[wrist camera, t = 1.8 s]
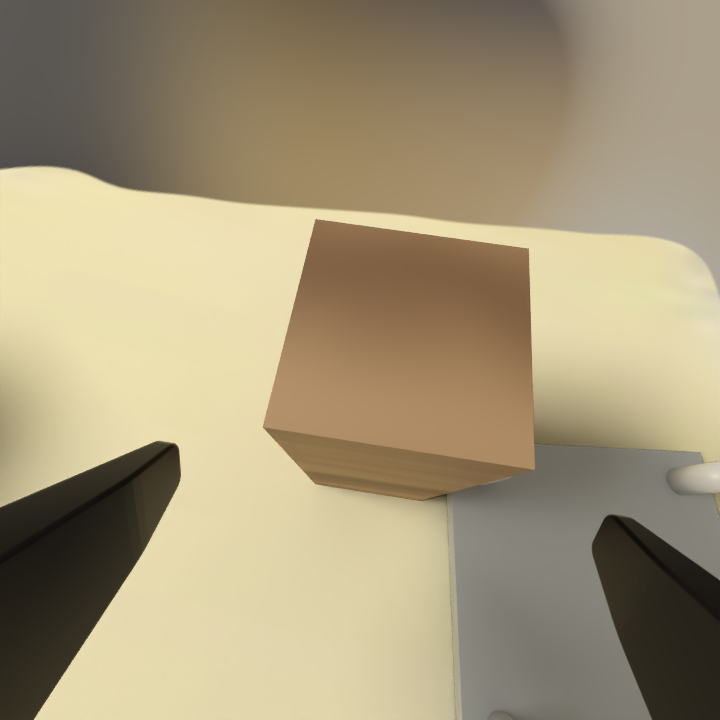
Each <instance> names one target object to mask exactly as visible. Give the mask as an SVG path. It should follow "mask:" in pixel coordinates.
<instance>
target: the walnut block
mask: <svg viewBox="0 0 720 720" xmlns="http://www.w3.org/2000/svg"><path fill="white" fill-rule="evenodd" d="M263 428H264V429H265V430H266V431H267V432H268V433H269V434H270V435H271V436H272V438H273V439H274V440H275V441H276V442H277V443H278V444H279V445H280V446H281V447H282V448H283V449H284V451H285V452H286V453H287V454H288V455H289V456H290V457H291V458H292V459H293V460H294V461H295V462H296V464H297V465H298V466H299V467H300V468H301V469H302V470H303V471H304V472H305V473H306V474H307V475H308V477H309V478H310V479H311V480H312V481H313V482H314V483H315V484H319V485H325V486H332V487H338V488H344V489H350V490H356V491H362V492H369V493H375V494H381V495H387V496H393V497H400V498H406V499H412V500H418V501H421V500H425V499H428V498H432V497H436V496H440V495H443V494H447V493H451V492H454V491H458V490H462V489H466V488H469V487H473V486H477V485H481V484H484V483H488V482H492V481H495V480H499V479H503V478H507V477H510V476H514V475H518V474H522V473H525V472H529V471H533V470H535V455H534V419H533V383H532V348H531V312H530V276H529V249H527V248H520V247H512V246H505V245H498V244H491V243H483V242H476V241H469V240H462V239H455V238H447V237H440V236H433V235H426V234H418V233H411V232H404V231H397V230H390V229H382V228H375V227H368V226H361V225H353V224H346V223H339V222H332V221H325V220H317V219H316V220H315V224H314V228H313V232H312V236H311V239H310V243H309V247H308V251H307V255H306V259H305V263H304V267H303V271H302V275H301V279H300V283H299V287H298V291H297V295H296V299H295V302H294V306H293V310H292V314H291V318H290V322H289V326H288V330H287V334H286V338H285V342H284V346H283V350H282V354H281V358H280V362H279V365H278V369H277V373H276V377H275V381H274V385H273V389H272V393H271V397H270V401H269V405H268V409H267V413H266V417H265V421H264V424H263Z"/></svg>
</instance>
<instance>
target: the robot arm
mask: <svg viewBox="0 0 720 720" xmlns="http://www.w3.org/2000/svg"><path fill="white" fill-rule="evenodd" d="M180 478H181V469H180V456H179V448H178V446H177V445H176V444H175V443H170V442H163V441H156V442H153V443H151V444H148V445H146V446H144V447H141V448H139V449H137V450H134V451H132V452H130V453H127V454H125V455H123V456H120V457H118V458H115V459H113V460H111V461H108V462H106V463H104V464H101V465H99V466H97V467H94V468H92V469H90V470H87V471H85V472H83V473H80V474H78V475H75V476H73V477H71V478H68V479H66V480H64V481H61V482H59V483H57V484H54V485H52V486H50V487H47V488H45V489H42V490H40V491H38V492H35V493H33V494H31V495H28V496H26V497H24V498H21V499H19V500H17V501H14V502H12V503H9V504H7V505H5V506H2V507H0V720H34V718H35V717H36V715H37V714H38V712H39V711H40V709H41V708H42V706H43V705H44V703H45V702H46V700H47V699H48V697H49V696H50V694H51V693H52V691H53V689H54V688H55V686H56V685H57V683H58V682H59V680H60V679H61V677H62V676H63V674H64V673H65V671H66V670H67V668H68V667H69V665H70V664H71V662H72V661H73V659H74V657H75V656H76V654H77V653H78V651H79V650H80V648H81V647H82V645H83V644H84V642H85V641H86V639H87V638H88V636H89V635H90V633H91V632H92V630H93V629H94V627H95V625H96V624H97V622H98V621H99V619H100V618H101V616H102V615H103V613H104V612H105V610H106V609H107V607H108V606H109V604H110V603H111V601H112V600H113V598H114V597H115V595H116V593H117V592H118V590H119V589H120V587H121V586H122V584H123V583H124V581H125V580H126V578H127V577H128V575H129V574H130V572H131V571H132V569H133V568H134V566H135V565H136V563H137V561H138V560H139V558H140V557H141V555H142V553H143V552H144V550H145V548H146V546H147V544H148V543H149V541H150V539H151V537H152V535H153V533H154V531H155V529H156V527H157V525H158V523H159V522H160V520H161V518H162V516H163V514H164V512H165V510H166V508H167V506H168V504H169V502H170V501H171V499H172V497H173V495H174V493H175V491H176V489H177V487H178V485H179V482H180ZM592 555H593V559H594V562H595V565H596V569H597V572H598V575H599V578H600V582H601V585H602V588H603V591H604V594H605V598H606V601H607V604H608V607H609V611H610V614H611V617H612V620H613V623H614V626H615V629H616V632H617V635H618V638H619V640H620V643H621V646H622V648H623V651H624V653H625V656H626V658H627V660H628V663H629V665H630V668H631V670H632V673H633V675H634V678H635V680H636V682H637V685H638V687H639V690H640V692H641V695H642V697H643V700H644V702H645V704H646V707H647V709H648V712H649V714H650V717H651V719H652V720H720V580H719V579H718V578H716V577H715V576H714V575H712V574H711V573H709V572H708V571H707V570H705V569H704V568H702V567H701V566H699V565H698V564H697V563H695V562H694V561H692V560H691V559H690V558H688V557H687V556H685V555H684V554H683V553H681V552H680V551H678V550H677V549H676V548H674V547H673V546H671V545H670V544H668V543H667V542H666V541H664V540H663V539H661V538H660V537H659V536H657V535H656V534H654V533H653V532H652V531H650V530H649V529H647V528H646V527H645V526H643V525H642V524H640V523H639V522H637V521H636V520H635V519H633V518H631V517H628V516H622V515H616V514H609V515H607V516H606V517H605V518H604V520H603V522H602V524H601V526H600V528H599V530H598V532H597V534H596V536H595V538H594V540H593V542H592Z"/></svg>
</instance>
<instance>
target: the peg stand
mask: <svg viewBox="0 0 720 720" xmlns="http://www.w3.org/2000/svg"><path fill="white" fill-rule="evenodd" d="M534 455H535V470H533V471H529V472H525V473H522V474H518V475H514V476H510V477H507V478H503V479H499V480H495V481H492V482H488V483H484V484H481V485H477V486H473V487H469V488H466V489H462V490H458V491H454V492H451V493H447V515H448V539H449V564H450V588H451V613H452V637H453V662H454V686H455V711H456V720H652V719H651V717H650V714H649V712H648V709H647V707H646V704H645V702H644V700H643V697H642V695H641V692H640V690H639V687H638V685H637V682H636V680H635V678H634V675H633V673H632V670H631V668H630V665H629V663H628V660H627V658H626V656H625V653H624V651H623V648H622V646H621V643H620V640H619V638H618V635H617V632H616V629H615V626H614V623H613V620H612V617H611V614H610V611H609V607H608V604H607V601H606V598H605V594H604V591H603V588H602V585H601V582H600V578H599V575H598V572H597V569H596V565H595V562H594V559H593V555H592V542H593V540H594V538H595V536H596V534H597V532H598V530H599V528H600V526H601V524H602V522H603V520H604V518H605V517H606V516H607V515H609V514H616V515H622V516H628V517H631V518H633V519H635V520H636V521H637V522H639V523H640V524H642V525H643V526H645V527H646V528H647V529H649V530H650V531H652V532H653V533H654V534H656V535H657V536H659V537H660V538H661V539H663V540H664V541H666V542H667V543H668V544H670V545H671V546H673V547H674V548H676V549H677V550H678V551H680V552H681V553H683V554H684V555H685V556H687V557H688V558H690V559H691V560H692V561H694V562H695V563H697V564H698V565H699V566H701V567H702V568H704V569H705V570H707V571H708V572H709V573H711V574H712V575H714V576H715V577H716V578H718V579H719V580H720V516H719V513H718V509H717V506H716V503H715V499H714V496H713V493H720V461H716V462H710V463H703V459H702V456H701V453H700V452H685V451H665V450H646V449H626V448H607V447H587V446H568V445H548V444H534Z"/></svg>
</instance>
